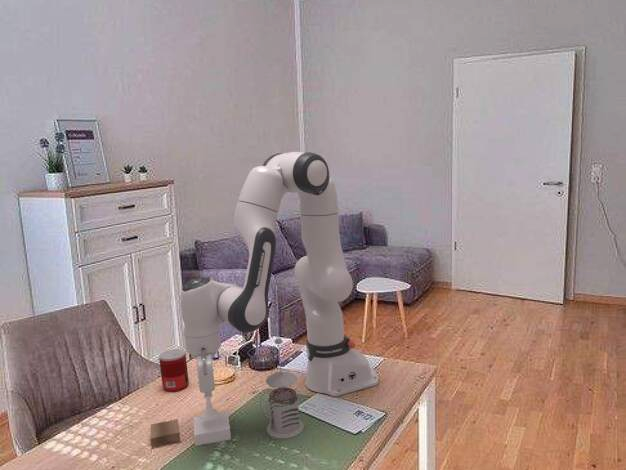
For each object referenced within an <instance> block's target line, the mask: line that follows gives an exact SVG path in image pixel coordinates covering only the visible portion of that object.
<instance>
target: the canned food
mask: <svg viewBox="0 0 626 470" xmlns="http://www.w3.org/2000/svg"><path fill="white" fill-rule="evenodd" d="M186 353H187V352H186V350H184V349H180V348H173V349H167V350H165V351H162V352H161V353H159V355H158V357H159V359H158V360H159V368H160V375H161V382H162V389H163V390H164V391H166V392H168V393H169V392H170V393H171V392H173V393H174V392H178V391H179V392H180V391H183V390H184V389H186V388H187V387H188V386H189V381H190V380H189V373H188V371H189V370H188V363H187V354H186Z"/></svg>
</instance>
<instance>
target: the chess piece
mask: <svg viewBox="0 0 626 470" xmlns="http://www.w3.org/2000/svg"><path fill="white" fill-rule="evenodd" d="M212 397H213V394H212V395H211V396H209V397H205V394H204V396H203V398H204V399H206V402H205V410H203V411H201V413H200V414H199V416H200V418H201V420H203V421H212V420H215V419H217V418H218V417H219V413H220V411H219V410H217V409H215V408H213V405H212V401H211V398H212Z"/></svg>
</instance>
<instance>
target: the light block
mask: <svg viewBox="0 0 626 470" xmlns="http://www.w3.org/2000/svg"><path fill="white" fill-rule="evenodd" d="M228 412H229V411H221V412H219V417H218V418H217V419H215V420H212V421H203V420H201V418H200V415H199V416H193V437H194V439H193V440H194V444H195V446H196V447H198V446H202V445H203V444H204V445H209V444H214V443H220V442H225V441H230V440H232V437H231V426H230V421H229V420H230V419H229V413H228Z"/></svg>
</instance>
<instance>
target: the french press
mask: <svg viewBox="0 0 626 470" xmlns="http://www.w3.org/2000/svg"><path fill="white" fill-rule="evenodd" d="M274 343H275V344H276V345H278V347H280V345H281V344H283V340H282V338H280V337H278V338H276V339H275V340H274ZM278 358H279V359H278V360H281V351H280V348H278ZM279 369H280V371H277V372H274V373H272V374H271V375H269V376H267V378H266V379H265V382H266V385H268V387H271V388H274V389H273V390H272V391H271V390H270V389H269V388H267V389H265V391H263V393H262V394H261V397H260V401H259V407H260V408H259V409H260V411H261V413H262V414H263V415H265V416H266V417H268V418H269V423H268V425H267V427H266V433H267V434H268V435H269V436H271V437H274V438H276V439H286V438H287V439H288V438H292V437H295V436H298V435H299V434H300V433H301V432H303V430H304V427H305V426H304V423H303V422H302V421H301V420H300V409H299V398H298V395H297V391H296V389H294V388H292V387H291V386H292V385H294V384H295V383H296V382H297V380H298V377H297V375H296V374H294V373H292V372H290V371H284V370H283V371H282V364H281V361H279ZM266 392H268V393H267V395H266V397H265V399H264V403H263V409H264V410H263V409H262V399H263V397H264V395H265V393H266ZM267 398H268V400H267ZM267 401H268V412H269V414H268V413H267V411H266V402H267ZM273 404H274V405H273ZM277 404H279V405H277ZM284 405H286V406H284Z"/></svg>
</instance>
